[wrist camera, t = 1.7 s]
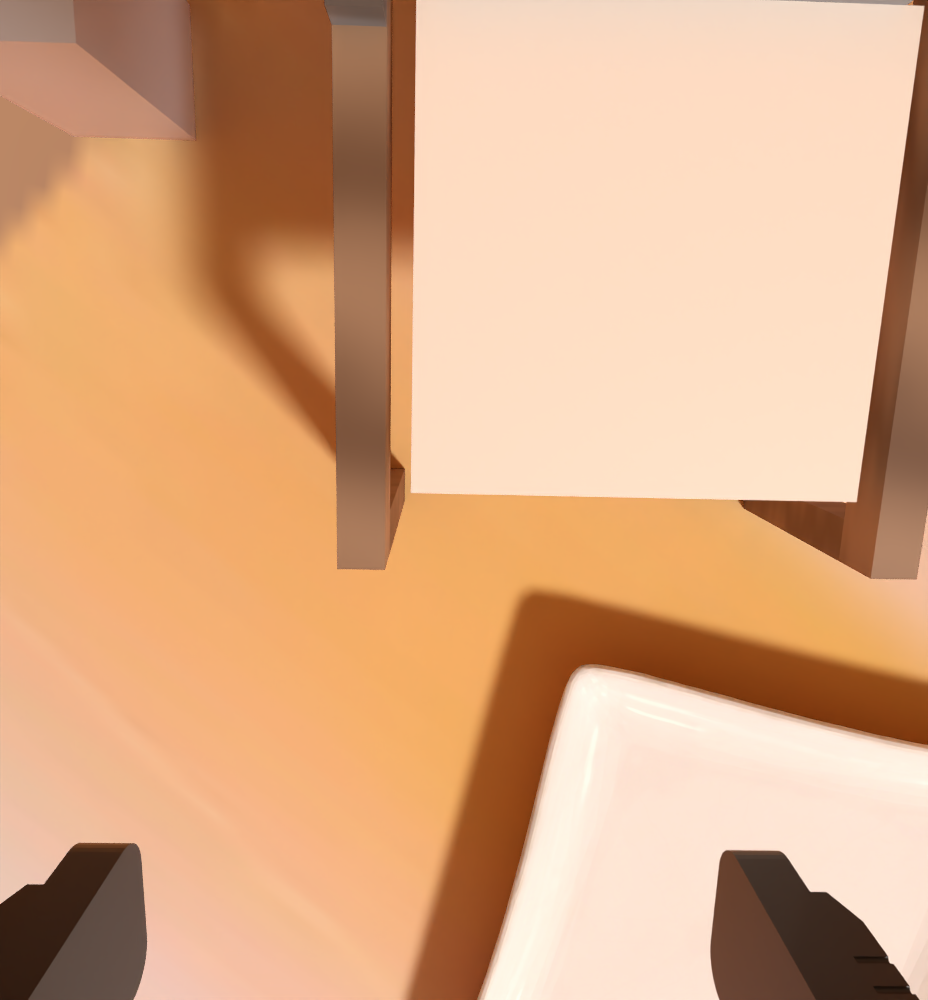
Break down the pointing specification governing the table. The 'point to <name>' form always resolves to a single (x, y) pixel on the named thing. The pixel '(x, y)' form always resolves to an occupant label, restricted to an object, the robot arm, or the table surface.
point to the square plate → (699, 837)
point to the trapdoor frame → (367, 334)
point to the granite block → (101, 66)
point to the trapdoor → (653, 243)
